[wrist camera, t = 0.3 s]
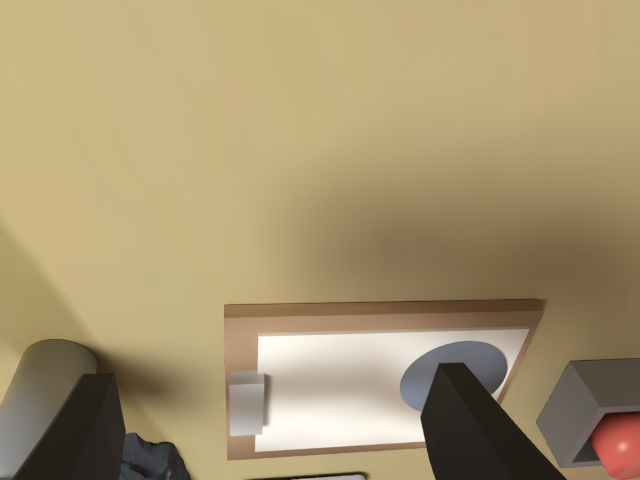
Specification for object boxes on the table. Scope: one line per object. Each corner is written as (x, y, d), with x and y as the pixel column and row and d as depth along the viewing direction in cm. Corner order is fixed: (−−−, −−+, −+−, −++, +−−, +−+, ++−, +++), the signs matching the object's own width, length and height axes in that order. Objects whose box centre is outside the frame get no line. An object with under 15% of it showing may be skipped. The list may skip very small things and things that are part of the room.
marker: (103, 384, 25) (56, 565, 19) (30, 388, 24) (-45, 575, 18) (92, 337, 23) (35, 521, 17) (12, 339, 22) (-78, 529, 16)
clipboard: (476, 432, 32) (486, 456, 30) (227, 447, 29) (227, 474, 28) (536, 299, 25) (552, 322, 24) (224, 304, 23) (223, 331, 22)
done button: (633, 443, 30) (656, 476, 28) (577, 447, 29) (596, 481, 28) (663, 405, 28) (689, 438, 26) (603, 408, 27) (625, 442, 26)
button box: (617, 417, 33) (647, 461, 30) (536, 422, 32) (560, 468, 29) (659, 357, 29) (697, 402, 27) (569, 361, 28) (600, 407, 26)
